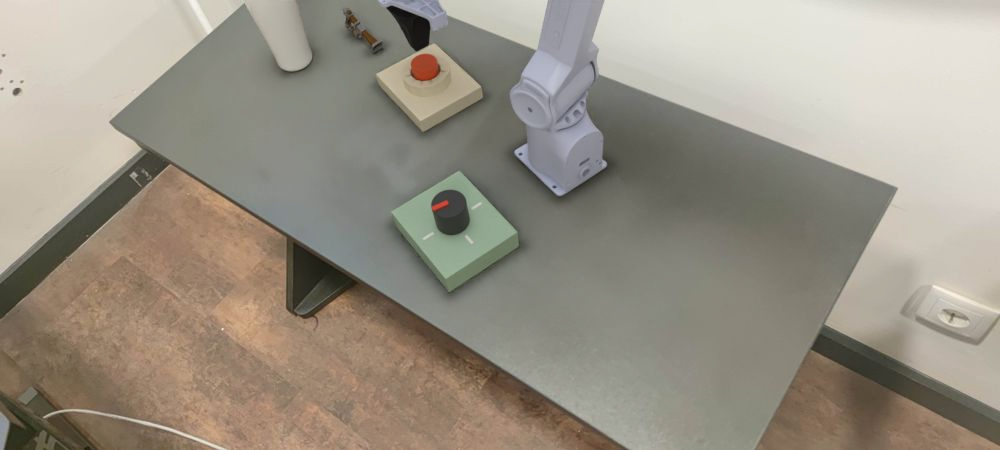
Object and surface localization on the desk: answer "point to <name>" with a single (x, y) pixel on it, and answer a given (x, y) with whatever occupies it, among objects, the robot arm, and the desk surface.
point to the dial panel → (463, 251)
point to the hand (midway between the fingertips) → (420, 46)
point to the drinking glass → (282, 31)
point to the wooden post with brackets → (360, 30)
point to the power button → (424, 67)
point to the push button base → (430, 89)
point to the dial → (450, 212)
